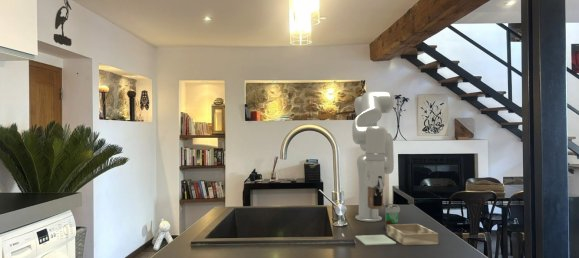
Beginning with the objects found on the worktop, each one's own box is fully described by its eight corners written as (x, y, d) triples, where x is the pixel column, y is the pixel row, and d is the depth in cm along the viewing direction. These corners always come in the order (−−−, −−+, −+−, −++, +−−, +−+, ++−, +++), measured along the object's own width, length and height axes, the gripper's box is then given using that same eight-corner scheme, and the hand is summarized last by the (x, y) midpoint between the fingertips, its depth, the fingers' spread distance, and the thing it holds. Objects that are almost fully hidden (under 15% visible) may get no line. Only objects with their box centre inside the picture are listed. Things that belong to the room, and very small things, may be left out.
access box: (386, 234, 167) (386, 224, 167) (417, 233, 169) (417, 223, 169) (404, 245, 150) (404, 234, 150) (438, 244, 152) (438, 233, 153)
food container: (401, 232, 171) (401, 208, 171) (386, 231, 172) (386, 207, 172) (399, 225, 183) (399, 203, 183) (385, 225, 184) (385, 203, 184)
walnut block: (367, 207, 159) (367, 186, 159) (378, 206, 160) (378, 186, 160) (371, 209, 155) (371, 188, 155) (382, 208, 155) (382, 188, 156)
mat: (355, 237, 162) (355, 235, 162) (383, 236, 164) (383, 234, 164) (365, 245, 151) (365, 243, 151) (395, 243, 152) (395, 242, 152)
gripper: (359, 156, 166) (358, 201, 165) (373, 159, 149) (373, 208, 148) (376, 156, 167) (376, 201, 166) (393, 159, 150) (393, 208, 150)
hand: (375, 204), depth 157 cm, fingers closed on walnut block, 4 cm apart
